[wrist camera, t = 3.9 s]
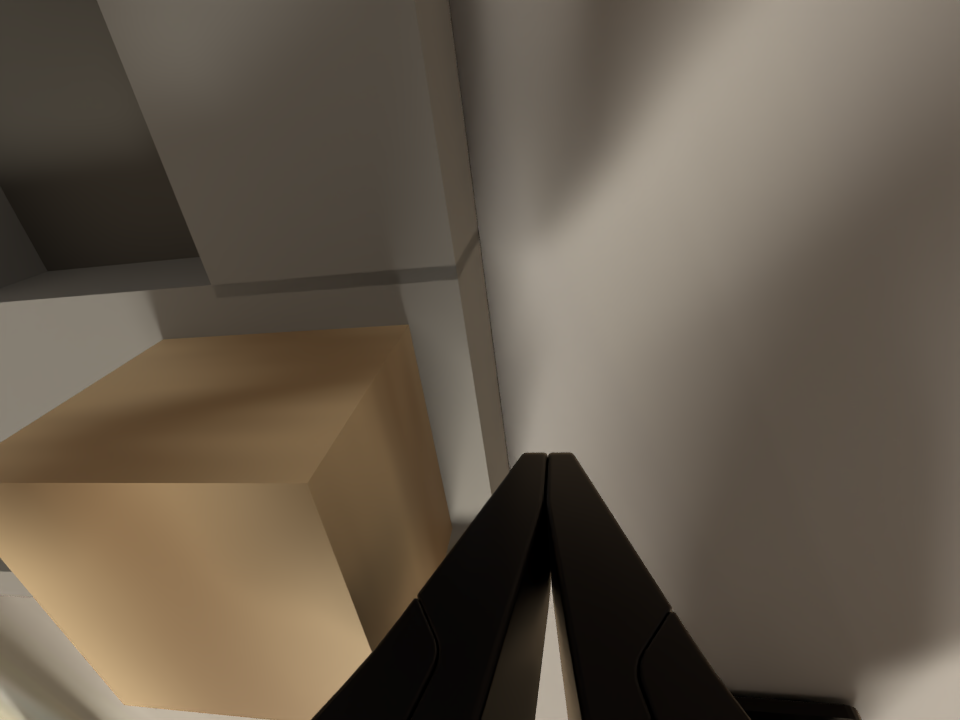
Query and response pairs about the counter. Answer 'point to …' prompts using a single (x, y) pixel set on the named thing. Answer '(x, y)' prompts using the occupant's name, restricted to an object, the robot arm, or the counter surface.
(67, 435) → the block
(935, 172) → the counter surface
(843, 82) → the counter surface
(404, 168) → the trap board
